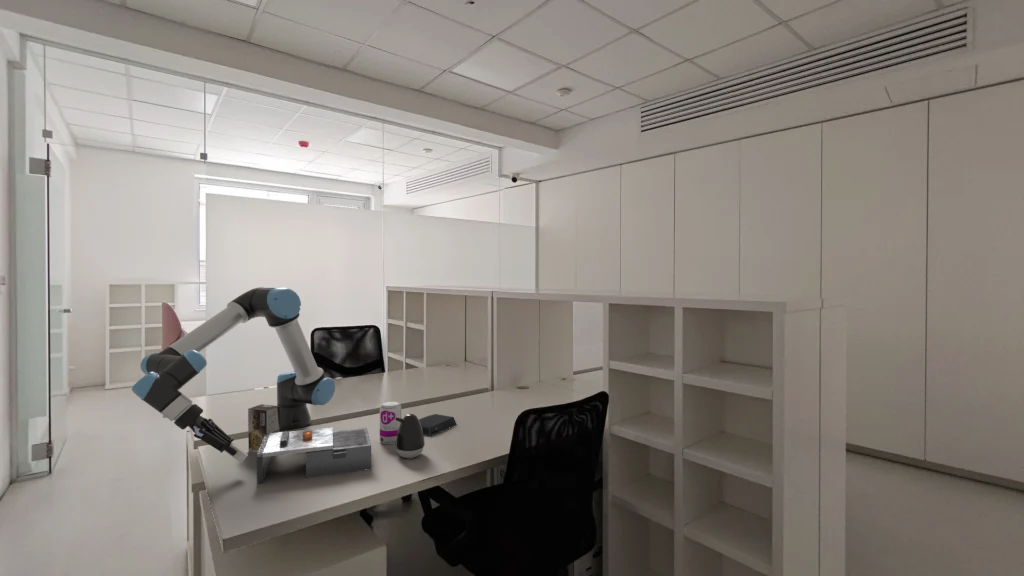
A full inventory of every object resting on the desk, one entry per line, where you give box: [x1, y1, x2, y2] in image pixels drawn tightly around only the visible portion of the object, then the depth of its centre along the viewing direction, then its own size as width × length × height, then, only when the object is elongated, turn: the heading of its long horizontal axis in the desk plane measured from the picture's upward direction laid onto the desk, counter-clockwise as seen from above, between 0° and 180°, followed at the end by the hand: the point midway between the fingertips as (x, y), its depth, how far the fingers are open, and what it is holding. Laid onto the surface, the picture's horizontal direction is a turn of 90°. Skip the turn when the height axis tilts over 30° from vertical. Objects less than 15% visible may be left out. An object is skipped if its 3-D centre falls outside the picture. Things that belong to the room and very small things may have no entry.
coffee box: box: [247, 404, 281, 454], centre depth 172 cm, size 9×6×16 cm
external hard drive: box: [418, 413, 457, 437], centre depth 200 cm, size 13×19×4 cm
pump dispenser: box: [395, 413, 426, 459], centre depth 168 cm, size 10×10×15 cm
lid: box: [256, 426, 334, 484], centre depth 157 cm, size 22×20×11 cm
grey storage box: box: [305, 427, 372, 478], centre depth 161 cm, size 20×24×8 cm
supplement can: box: [379, 400, 402, 445], centre depth 183 cm, size 8×8×15 cm
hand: (244, 458), depth 151 cm, fingers closed
